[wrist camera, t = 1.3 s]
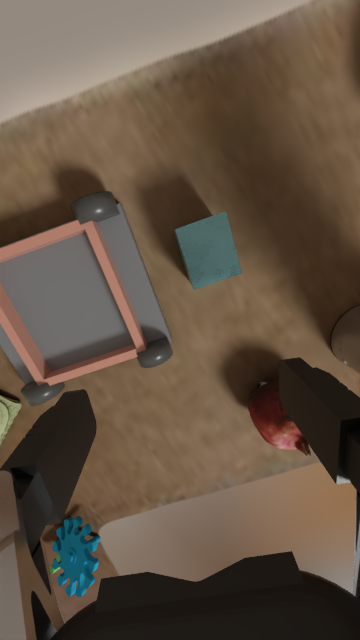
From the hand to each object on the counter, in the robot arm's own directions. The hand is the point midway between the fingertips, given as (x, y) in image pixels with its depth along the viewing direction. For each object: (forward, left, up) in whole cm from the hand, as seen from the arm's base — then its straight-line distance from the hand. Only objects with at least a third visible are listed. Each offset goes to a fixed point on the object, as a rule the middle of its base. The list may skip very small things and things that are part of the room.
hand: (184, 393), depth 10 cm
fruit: (-9, +19, -22) cm, 30 cm away
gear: (+29, +34, -22) cm, 50 cm away
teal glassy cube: (-5, -4, -22) cm, 22 cm away
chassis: (+12, -3, -21) cm, 25 cm away
